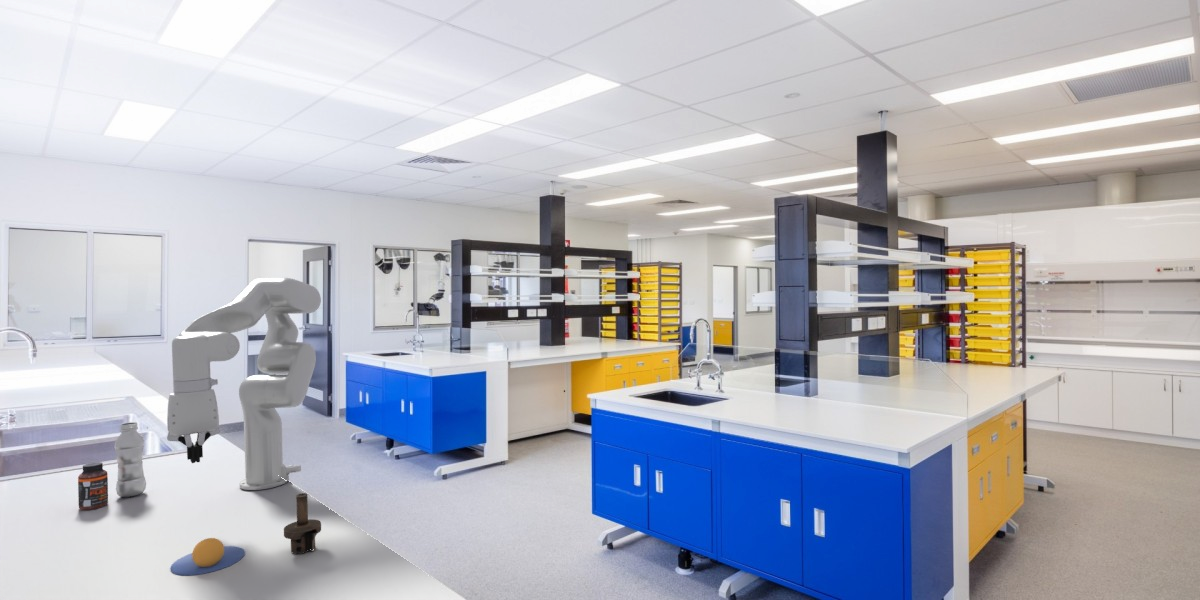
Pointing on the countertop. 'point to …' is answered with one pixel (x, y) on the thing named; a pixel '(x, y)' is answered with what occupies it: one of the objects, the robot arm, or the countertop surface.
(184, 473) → the countertop surface
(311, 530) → the industrial component
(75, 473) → the countertop surface
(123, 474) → the plastic bottle
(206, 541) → the ball
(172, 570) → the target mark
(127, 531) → the countertop surface
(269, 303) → the robot arm
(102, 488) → the supplement bottle
